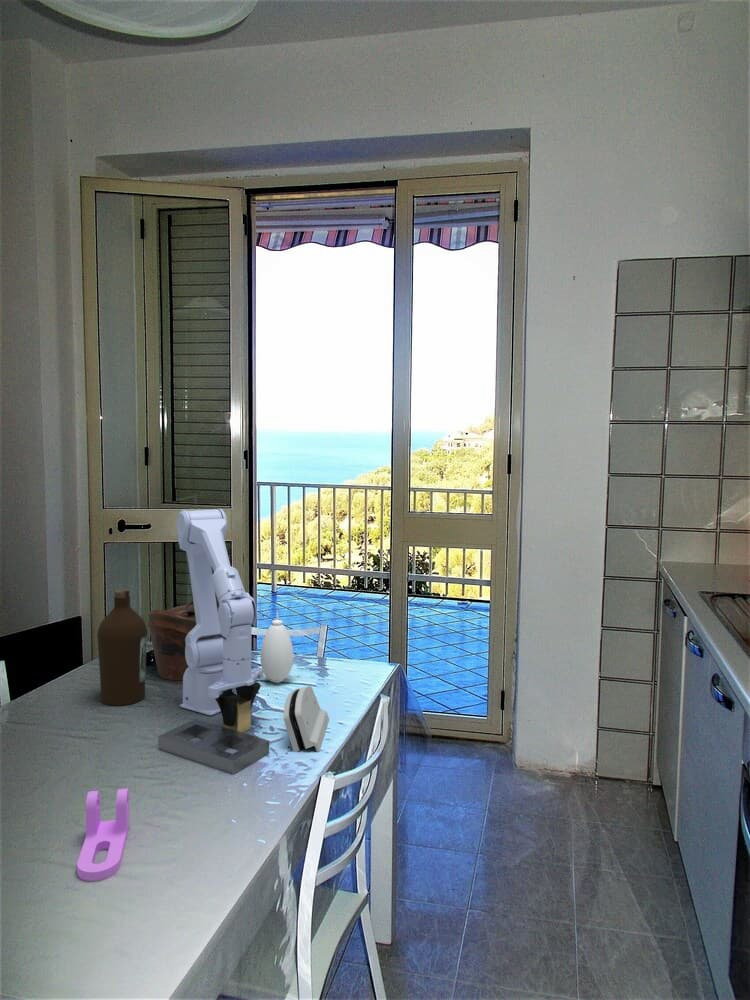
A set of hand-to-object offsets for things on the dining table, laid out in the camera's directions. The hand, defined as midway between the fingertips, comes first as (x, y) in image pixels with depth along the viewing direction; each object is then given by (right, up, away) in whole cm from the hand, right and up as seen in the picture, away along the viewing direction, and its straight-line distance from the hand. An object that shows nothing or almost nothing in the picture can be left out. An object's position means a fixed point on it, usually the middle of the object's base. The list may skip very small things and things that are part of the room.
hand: (236, 721), depth 143 cm
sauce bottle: (+4, 0, +29) cm, 29 cm away
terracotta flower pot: (-20, +1, +35) cm, 40 cm away
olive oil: (-29, 0, +16) cm, 33 cm away
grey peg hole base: (-2, -3, -10) cm, 11 cm away
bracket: (-11, -6, -43) cm, 45 cm away
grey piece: (+14, -3, -1) cm, 15 cm away
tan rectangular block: (0, -2, 0) cm, 2 cm away
